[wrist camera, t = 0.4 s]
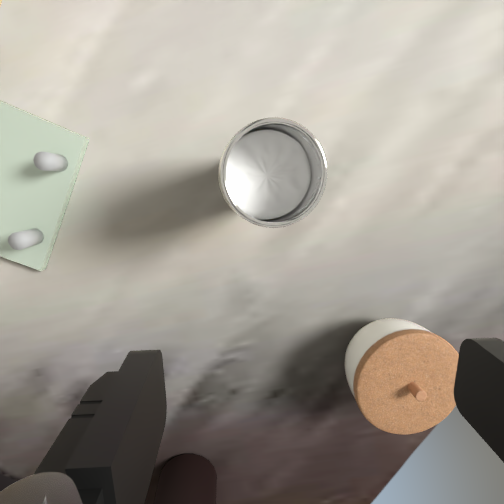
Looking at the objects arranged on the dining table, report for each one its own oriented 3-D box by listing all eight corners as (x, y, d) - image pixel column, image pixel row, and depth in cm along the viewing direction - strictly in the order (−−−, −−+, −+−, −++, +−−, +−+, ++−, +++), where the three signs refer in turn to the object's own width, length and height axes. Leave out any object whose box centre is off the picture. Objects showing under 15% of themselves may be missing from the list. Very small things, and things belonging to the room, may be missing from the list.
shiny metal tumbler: (291, 205, 37) (336, 221, 22) (226, 216, 36) (227, 239, 22) (282, 137, 35) (324, 104, 20) (214, 148, 35) (207, 122, 20)
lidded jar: (400, 398, 42) (449, 458, 33) (319, 377, 41) (346, 434, 32) (435, 318, 40) (496, 358, 31) (350, 293, 39) (389, 327, 30)
